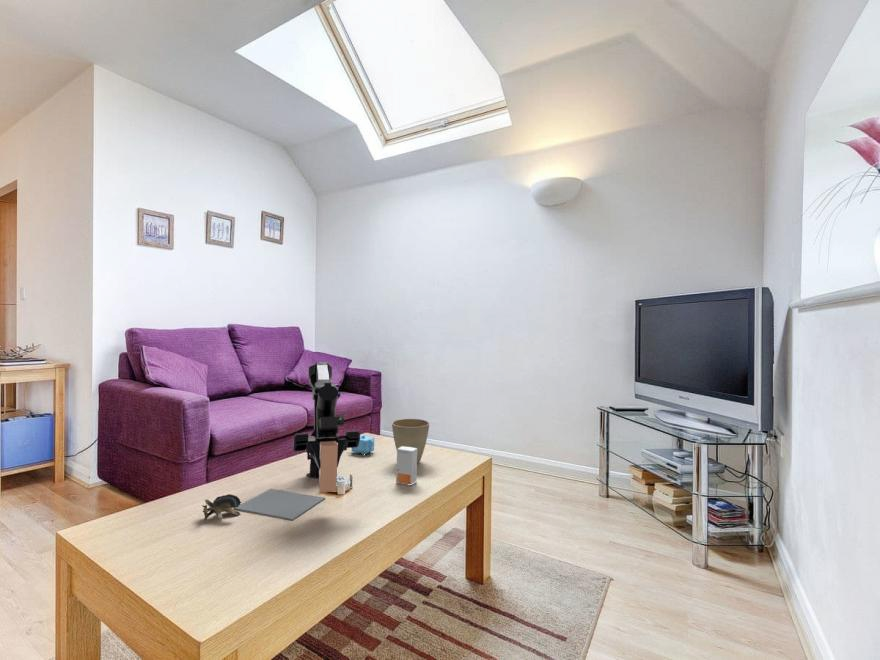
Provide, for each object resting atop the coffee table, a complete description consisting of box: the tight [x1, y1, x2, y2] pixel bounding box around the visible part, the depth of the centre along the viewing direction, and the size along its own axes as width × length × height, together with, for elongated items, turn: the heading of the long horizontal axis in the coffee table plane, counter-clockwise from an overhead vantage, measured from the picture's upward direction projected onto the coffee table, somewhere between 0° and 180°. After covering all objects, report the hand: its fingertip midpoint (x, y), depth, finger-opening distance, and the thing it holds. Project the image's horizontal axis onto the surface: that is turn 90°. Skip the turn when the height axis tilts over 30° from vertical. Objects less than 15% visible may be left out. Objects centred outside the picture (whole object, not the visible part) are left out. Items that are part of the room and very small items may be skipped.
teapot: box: [351, 434, 375, 456], centre depth 183 cm, size 12×6×8 cm, turn 64°
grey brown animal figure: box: [201, 493, 242, 522], centre depth 119 cm, size 8×7×9 cm
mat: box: [233, 488, 326, 521], centre depth 129 cm, size 16×20×1 cm
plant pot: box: [391, 418, 430, 463], centre depth 171 cm, size 15×15×16 cm
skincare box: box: [395, 446, 418, 485], centre depth 149 cm, size 6×4×12 cm
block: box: [318, 441, 338, 493], centre depth 124 cm, size 4×4×13 cm
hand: (328, 467), depth 122 cm, fingers closed on block, 4 cm apart
